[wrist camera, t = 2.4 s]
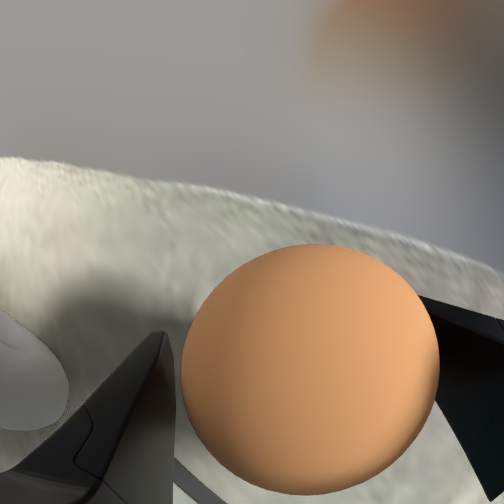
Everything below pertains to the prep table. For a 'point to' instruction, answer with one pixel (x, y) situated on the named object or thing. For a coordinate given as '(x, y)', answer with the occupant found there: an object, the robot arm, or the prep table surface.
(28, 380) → the donut
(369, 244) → the prep table surface
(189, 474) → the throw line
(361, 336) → the ball
